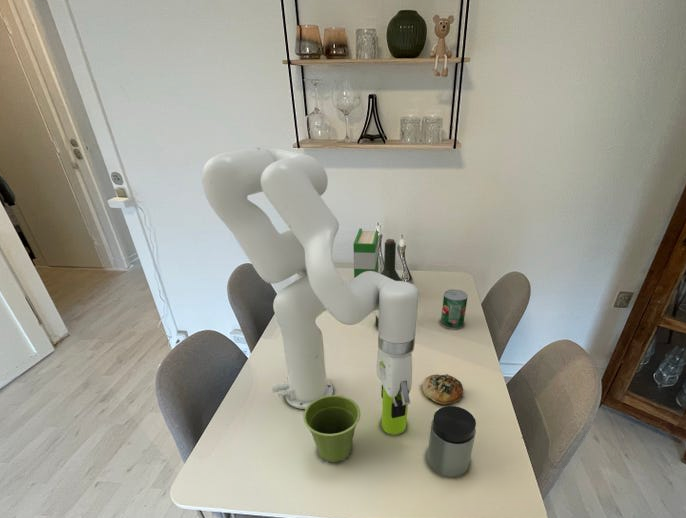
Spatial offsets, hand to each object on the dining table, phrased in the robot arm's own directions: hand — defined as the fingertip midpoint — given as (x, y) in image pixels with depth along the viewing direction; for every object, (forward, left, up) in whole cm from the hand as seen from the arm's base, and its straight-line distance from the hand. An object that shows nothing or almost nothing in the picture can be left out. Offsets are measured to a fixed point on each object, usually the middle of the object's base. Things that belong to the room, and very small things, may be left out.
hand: (392, 405), depth 88 cm
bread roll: (+17, +8, -7) cm, 20 cm away
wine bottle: (+15, +45, -7) cm, 48 cm away
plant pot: (-15, -3, -7) cm, 17 cm away
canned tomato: (+37, +40, -7) cm, 55 cm away
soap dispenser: (0, 0, -7) cm, 7 cm away
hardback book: (+15, +69, -7) cm, 71 cm away
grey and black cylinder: (+8, -13, -7) cm, 17 cm away
